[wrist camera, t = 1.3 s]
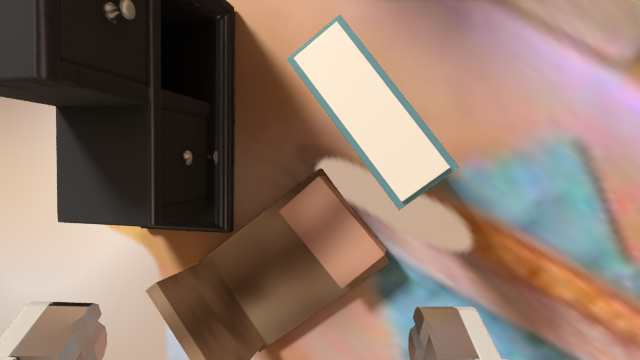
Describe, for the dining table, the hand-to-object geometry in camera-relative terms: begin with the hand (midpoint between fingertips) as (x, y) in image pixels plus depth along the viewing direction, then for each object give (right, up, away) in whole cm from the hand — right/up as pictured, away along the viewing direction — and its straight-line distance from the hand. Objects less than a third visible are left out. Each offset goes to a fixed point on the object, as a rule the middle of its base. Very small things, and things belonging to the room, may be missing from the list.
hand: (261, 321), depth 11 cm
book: (+8, +8, +28) cm, 30 cm away
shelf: (-1, -4, +30) cm, 31 cm away
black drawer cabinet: (-12, +10, +33) cm, 36 cm away
